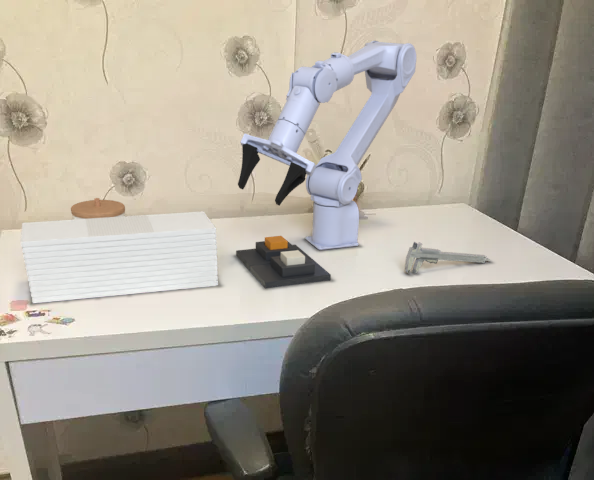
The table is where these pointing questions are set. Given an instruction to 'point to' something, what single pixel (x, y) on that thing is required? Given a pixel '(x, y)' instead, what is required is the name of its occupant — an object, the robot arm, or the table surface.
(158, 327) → the table surface
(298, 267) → the keypad
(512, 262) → the table surface
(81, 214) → the trinket box
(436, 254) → the caliper
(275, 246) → the amber key
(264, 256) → the keypad
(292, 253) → the white key
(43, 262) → the stack of papers
